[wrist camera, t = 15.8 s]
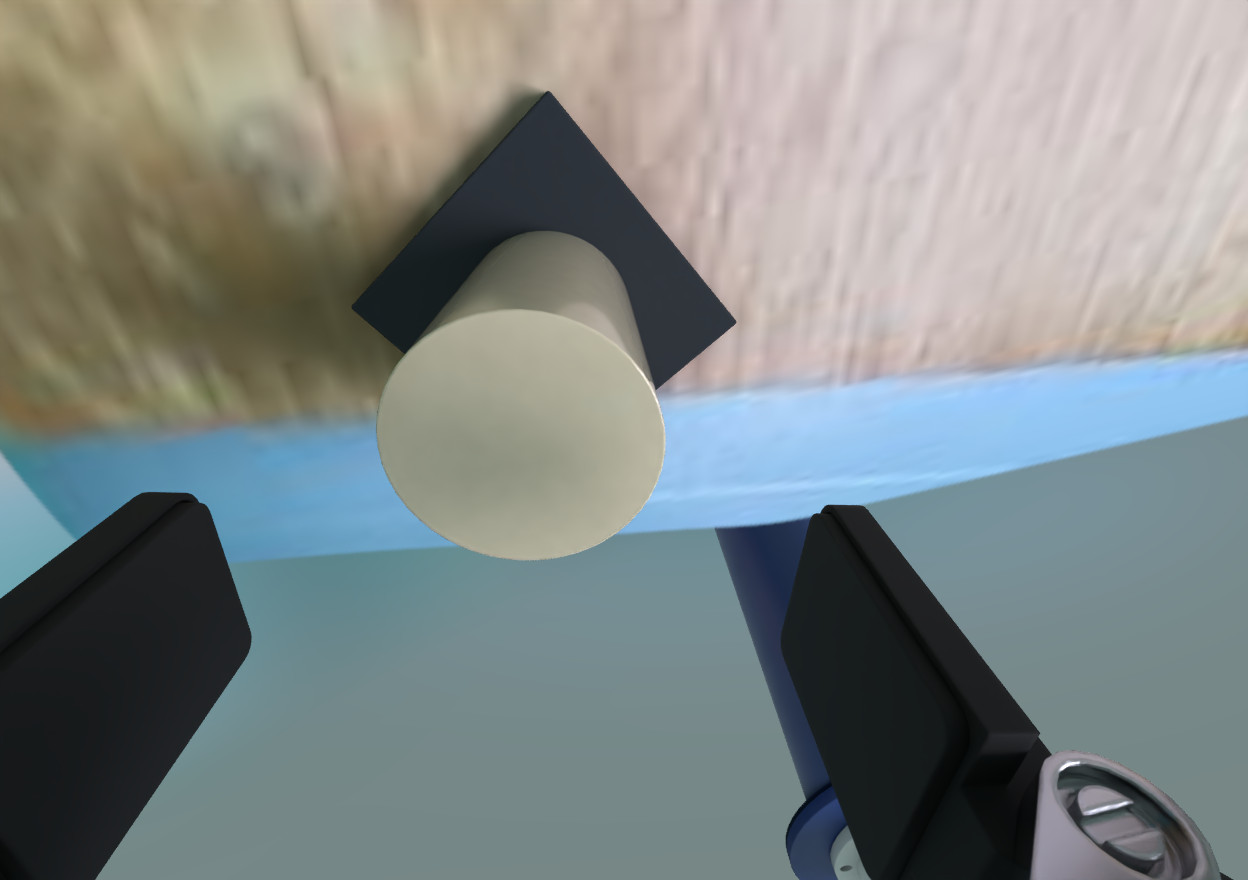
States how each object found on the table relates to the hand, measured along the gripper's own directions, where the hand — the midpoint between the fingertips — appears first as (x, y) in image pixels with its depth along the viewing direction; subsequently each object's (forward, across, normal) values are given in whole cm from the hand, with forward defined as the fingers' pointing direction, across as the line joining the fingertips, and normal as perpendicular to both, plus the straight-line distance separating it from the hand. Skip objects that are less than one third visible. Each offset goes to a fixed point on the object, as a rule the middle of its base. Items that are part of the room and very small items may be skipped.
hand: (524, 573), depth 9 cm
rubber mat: (+14, 0, -1) cm, 14 cm away
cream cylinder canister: (+13, 0, -1) cm, 13 cm away
